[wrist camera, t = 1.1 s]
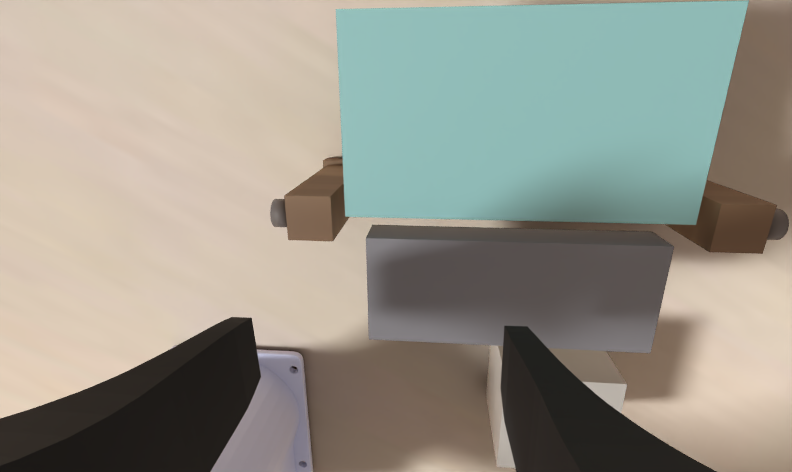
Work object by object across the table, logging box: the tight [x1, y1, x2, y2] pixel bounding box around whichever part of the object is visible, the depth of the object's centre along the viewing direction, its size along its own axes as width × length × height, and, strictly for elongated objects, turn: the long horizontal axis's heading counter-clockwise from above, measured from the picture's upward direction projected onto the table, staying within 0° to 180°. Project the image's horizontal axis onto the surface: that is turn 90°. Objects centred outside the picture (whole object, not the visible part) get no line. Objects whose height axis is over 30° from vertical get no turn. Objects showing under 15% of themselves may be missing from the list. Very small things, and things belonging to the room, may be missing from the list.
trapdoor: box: [336, 0, 749, 353], centre depth 14 cm, size 11×12×2 cm
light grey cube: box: [486, 345, 627, 468], centre depth 21 cm, size 5×5×5 cm
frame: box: [270, 158, 789, 254], centre depth 18 cm, size 3×17×7 cm, turn 90°
